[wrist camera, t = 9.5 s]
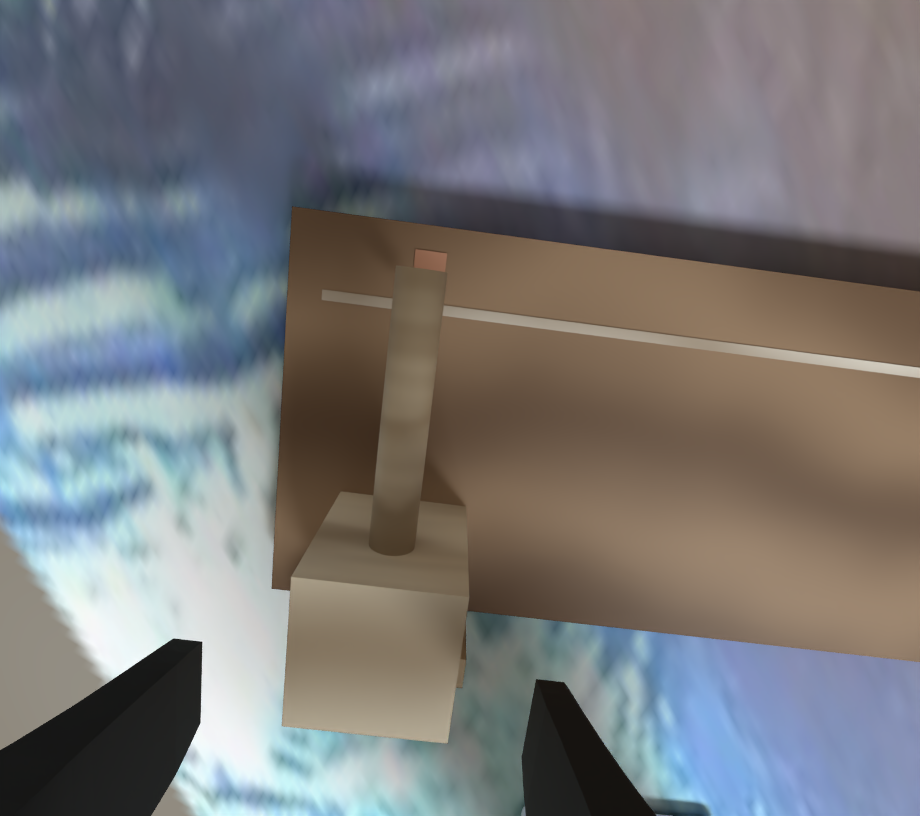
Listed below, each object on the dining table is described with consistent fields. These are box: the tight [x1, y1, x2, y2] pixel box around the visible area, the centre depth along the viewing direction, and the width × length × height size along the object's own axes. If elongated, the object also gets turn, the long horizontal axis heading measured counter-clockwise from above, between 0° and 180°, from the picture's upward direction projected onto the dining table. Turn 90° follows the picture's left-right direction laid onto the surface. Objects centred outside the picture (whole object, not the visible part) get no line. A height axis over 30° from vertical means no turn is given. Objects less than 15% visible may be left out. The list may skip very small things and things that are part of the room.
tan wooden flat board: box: [272, 206, 920, 662], centre depth 17 cm, size 12×24×2 cm, turn 83°
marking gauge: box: [282, 266, 469, 744], centre depth 14 cm, size 12×5×6 cm, turn 173°
